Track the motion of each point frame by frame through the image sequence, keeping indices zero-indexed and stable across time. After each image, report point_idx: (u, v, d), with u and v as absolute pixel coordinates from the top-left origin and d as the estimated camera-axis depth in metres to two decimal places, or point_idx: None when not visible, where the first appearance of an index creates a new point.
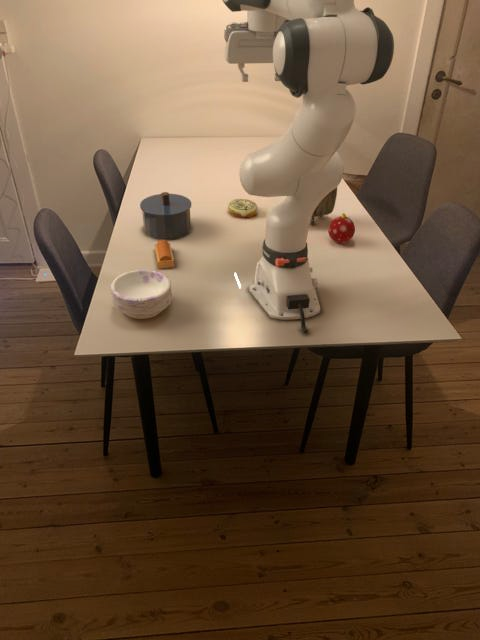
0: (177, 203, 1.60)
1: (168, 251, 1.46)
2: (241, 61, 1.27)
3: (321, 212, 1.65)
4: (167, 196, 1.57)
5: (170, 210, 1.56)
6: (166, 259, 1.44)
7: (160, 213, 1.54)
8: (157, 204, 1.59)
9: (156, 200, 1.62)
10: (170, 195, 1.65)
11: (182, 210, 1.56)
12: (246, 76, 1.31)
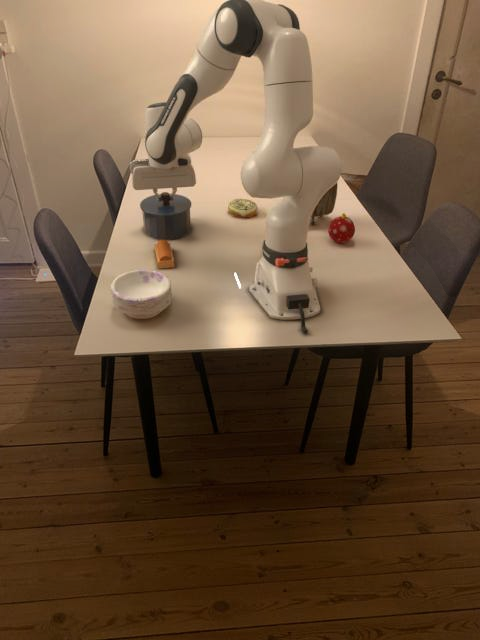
0: (177, 203, 1.60)
1: (168, 251, 1.46)
2: (145, 188, 1.53)
3: (321, 212, 1.65)
4: (167, 196, 1.57)
5: (170, 210, 1.56)
6: (166, 259, 1.44)
7: (160, 213, 1.54)
8: (157, 204, 1.59)
9: (156, 200, 1.62)
10: None
11: (182, 210, 1.56)
12: (160, 197, 1.57)
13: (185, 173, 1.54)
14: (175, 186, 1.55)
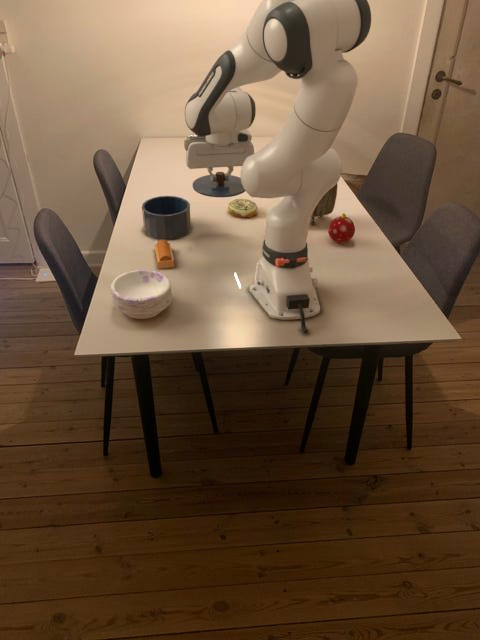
0: (232, 184, 1.48)
1: (168, 251, 1.46)
2: (200, 166, 1.41)
3: (321, 212, 1.65)
4: (222, 176, 1.45)
5: (226, 191, 1.43)
6: (166, 259, 1.44)
7: (216, 194, 1.41)
8: (211, 185, 1.47)
9: (209, 180, 1.49)
10: None
11: (239, 191, 1.44)
12: (214, 177, 1.45)
13: (244, 150, 1.41)
14: (232, 165, 1.43)
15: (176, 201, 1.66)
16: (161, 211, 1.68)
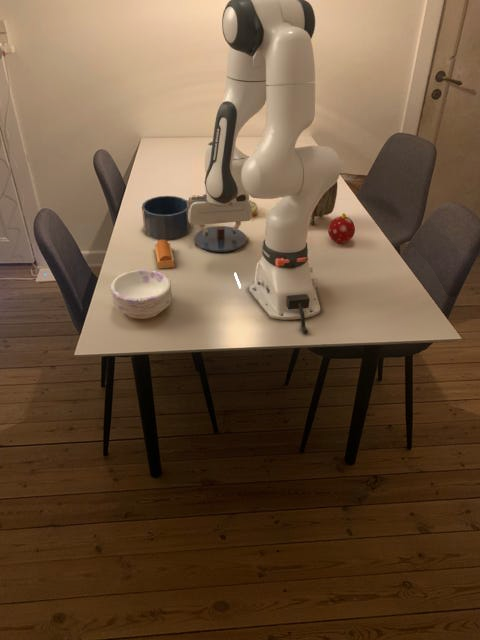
0: (232, 237, 1.59)
1: (168, 251, 1.46)
2: (201, 223, 1.52)
3: (321, 212, 1.65)
4: (222, 231, 1.56)
5: (226, 245, 1.55)
6: (166, 259, 1.44)
7: (217, 248, 1.53)
8: (212, 238, 1.58)
9: (210, 233, 1.61)
10: (223, 228, 1.64)
11: (238, 245, 1.55)
12: (206, 232, 1.55)
13: (242, 208, 1.52)
14: (231, 221, 1.53)
15: (176, 201, 1.66)
16: (161, 211, 1.68)
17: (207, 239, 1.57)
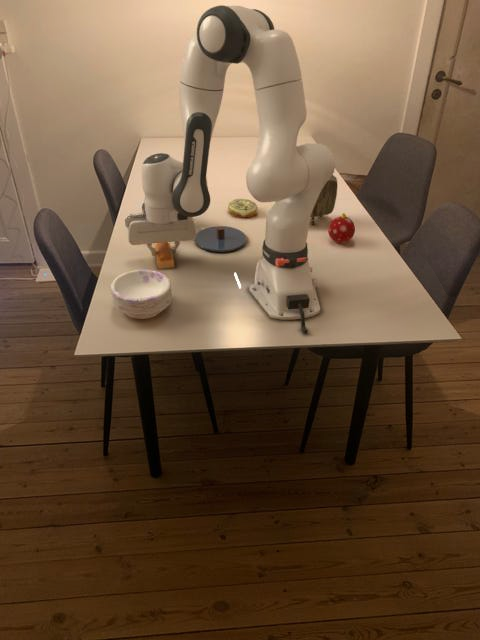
0: (232, 237, 1.59)
1: (168, 251, 1.46)
2: (142, 243, 1.43)
3: (321, 212, 1.65)
4: (222, 231, 1.56)
5: (226, 245, 1.55)
6: (166, 259, 1.44)
7: (217, 248, 1.53)
8: (212, 238, 1.58)
9: (210, 233, 1.61)
10: (223, 228, 1.64)
11: (238, 245, 1.55)
12: (154, 252, 1.46)
13: (185, 227, 1.43)
14: (174, 240, 1.44)
15: None
16: None
17: (207, 239, 1.57)
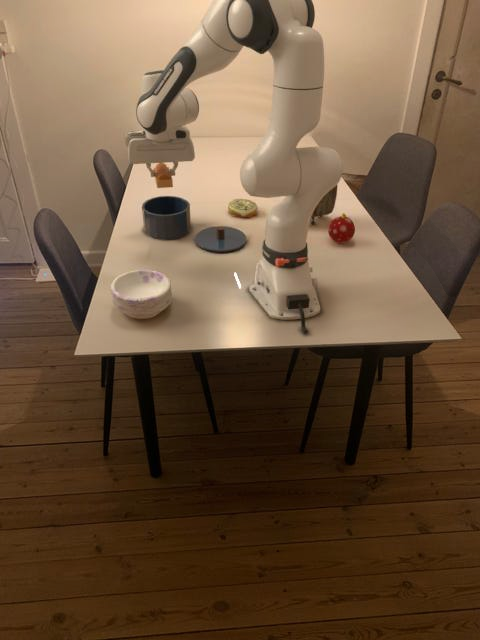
0: (232, 237, 1.59)
1: (167, 172, 1.50)
2: (142, 162, 1.47)
3: (321, 212, 1.65)
4: (222, 231, 1.56)
5: (226, 245, 1.55)
6: (165, 178, 1.48)
7: (217, 248, 1.53)
8: (212, 238, 1.58)
9: (210, 233, 1.61)
10: (223, 228, 1.64)
11: (238, 245, 1.55)
12: (153, 172, 1.51)
13: (183, 146, 1.47)
14: (173, 160, 1.49)
15: (176, 201, 1.66)
16: (161, 211, 1.68)
17: (207, 239, 1.57)
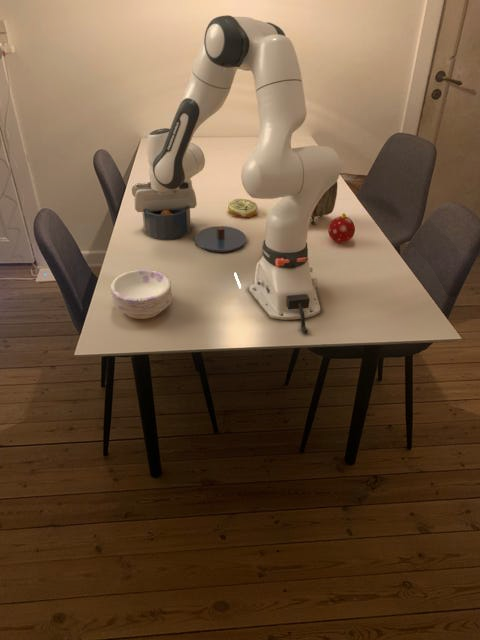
0: (232, 237, 1.59)
1: None
2: (147, 210, 1.58)
3: (321, 212, 1.65)
4: (222, 231, 1.56)
5: (226, 245, 1.55)
6: None
7: (217, 248, 1.53)
8: (212, 238, 1.58)
9: (210, 233, 1.61)
10: (223, 228, 1.64)
11: (238, 245, 1.55)
12: None
13: (186, 195, 1.58)
14: (176, 208, 1.60)
15: None
16: (161, 211, 1.68)
17: (207, 239, 1.57)
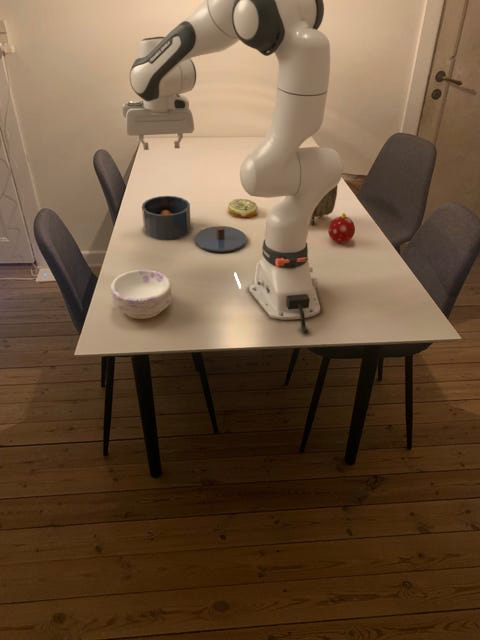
0: (232, 237, 1.59)
1: None
2: (140, 133, 1.43)
3: (321, 212, 1.65)
4: (222, 231, 1.56)
5: (226, 245, 1.55)
6: None
7: (217, 248, 1.53)
8: (212, 238, 1.58)
9: (210, 233, 1.61)
10: (223, 228, 1.64)
11: (238, 245, 1.55)
12: (146, 145, 1.47)
13: (182, 117, 1.43)
14: (172, 132, 1.45)
15: (176, 201, 1.66)
16: (161, 211, 1.68)
17: (207, 239, 1.57)
